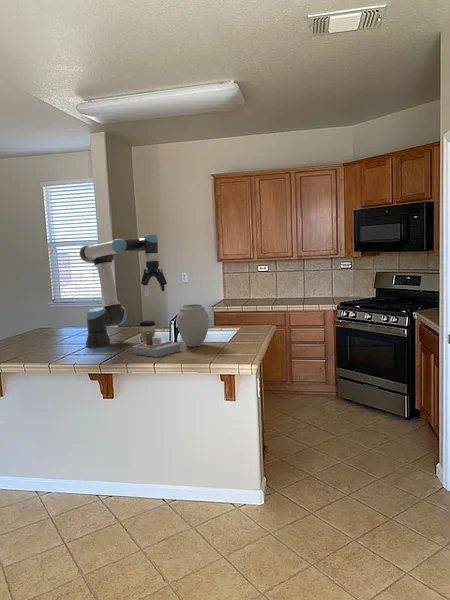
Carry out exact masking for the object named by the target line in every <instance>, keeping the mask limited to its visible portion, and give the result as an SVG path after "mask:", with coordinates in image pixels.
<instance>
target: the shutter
mask: <svg viewBox="0 0 450 600" xmlns="http://www.w3.org/2000/svg"><path fill="white" fill-rule="evenodd" d="M152 341H153V344H160V343H164V342H168V341H169V340H166V339H165V340H164V339H163V340H162V337H156V336H154V337H152Z"/></svg>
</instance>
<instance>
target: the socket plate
mask: <svg viewBox="0 0 450 600" xmlns="http://www.w3.org/2000/svg"><path fill="white" fill-rule="evenodd" d="M167 341H168V342H164V343H160V344H156V345H152V346H149V347H142V345H144V344H146V343H143V342H142V343H140V344H139V343H137V345H133V346H132V354H135V355H141V356H146V357H147V356H149V357H154V358H158V357H162V356H165V355H170V354H173V353H177V352H180V351H181V344H180V343H175V342H172V340H167Z"/></svg>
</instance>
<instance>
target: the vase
mask: <svg viewBox="0 0 450 600" xmlns="http://www.w3.org/2000/svg"><path fill="white" fill-rule="evenodd" d="M176 324H177V325H176V326H177V331H178V333H179V335H180V339H181V340H182V341H183V343H184V344H185V345H186V346H187V347H188V346H189V348H196V347H195V346H198V347H200V346H202V344H203V343H204V341H205V339H206V338H207V333H208V330H209V326H210V325H209V324H210V318H209V314H208V312H207V311H206V310H205V306H203V305H201V304H195V303H194V304H185V305H184V304H183V305H182V306H181V307H180V308H179V312H177V315H176Z"/></svg>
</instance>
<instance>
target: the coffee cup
mask: <svg viewBox="0 0 450 600" xmlns="http://www.w3.org/2000/svg"><path fill="white" fill-rule="evenodd" d="M138 326H139V330H140V336H141V342H142V343H146V333H152V337H156V336H155V333H156V331H155V330H156V329H155V328H156V327H155V326H156V323H155V321H154V320H145V321H140V322H139V324H138Z"/></svg>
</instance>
